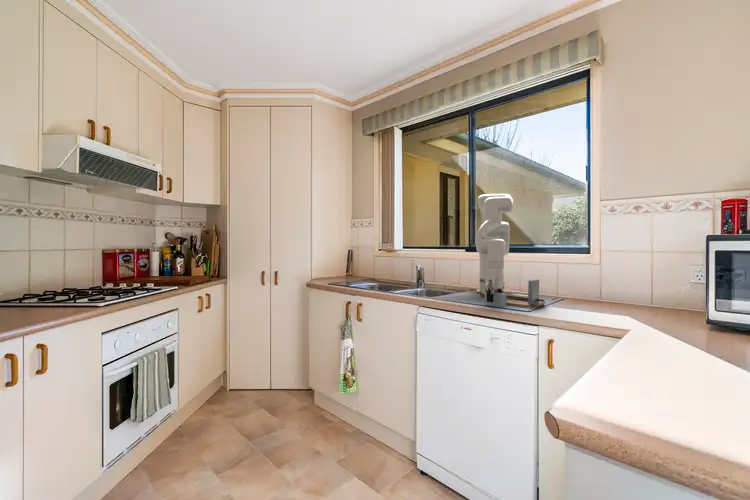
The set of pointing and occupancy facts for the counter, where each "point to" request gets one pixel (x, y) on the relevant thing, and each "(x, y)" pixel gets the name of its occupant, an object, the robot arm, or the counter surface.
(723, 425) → the counter surface
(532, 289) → the bookend
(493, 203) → the robot arm
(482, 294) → the food container
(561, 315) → the counter surface
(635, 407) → the counter surface
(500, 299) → the grey rectangular block
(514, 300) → the rack
